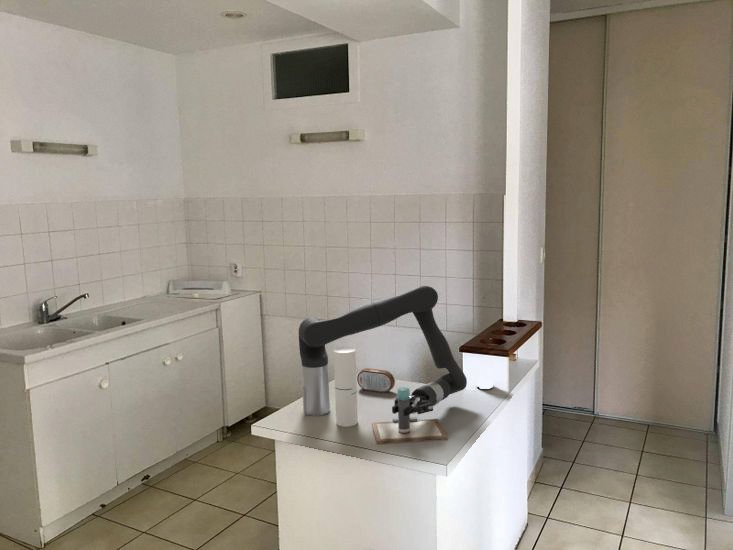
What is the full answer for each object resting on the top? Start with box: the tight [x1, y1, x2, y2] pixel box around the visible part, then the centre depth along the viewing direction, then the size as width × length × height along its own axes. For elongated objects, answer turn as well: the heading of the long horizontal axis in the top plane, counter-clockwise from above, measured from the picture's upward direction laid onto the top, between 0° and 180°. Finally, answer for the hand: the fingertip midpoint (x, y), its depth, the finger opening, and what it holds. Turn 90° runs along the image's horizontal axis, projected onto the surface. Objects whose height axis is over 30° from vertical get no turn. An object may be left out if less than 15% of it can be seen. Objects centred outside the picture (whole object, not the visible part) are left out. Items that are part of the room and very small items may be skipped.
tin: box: [356, 368, 396, 393], centre depth 234 cm, size 15×3×8 cm, turn 66°
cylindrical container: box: [333, 346, 359, 428], centre depth 202 cm, size 7×7×25 cm
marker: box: [396, 386, 411, 434], centre depth 191 cm, size 4×4×14 cm
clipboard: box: [371, 416, 448, 445], centre depth 194 cm, size 22×15×2 cm
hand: (398, 411), depth 188 cm, fingers closed on marker, 3 cm apart
